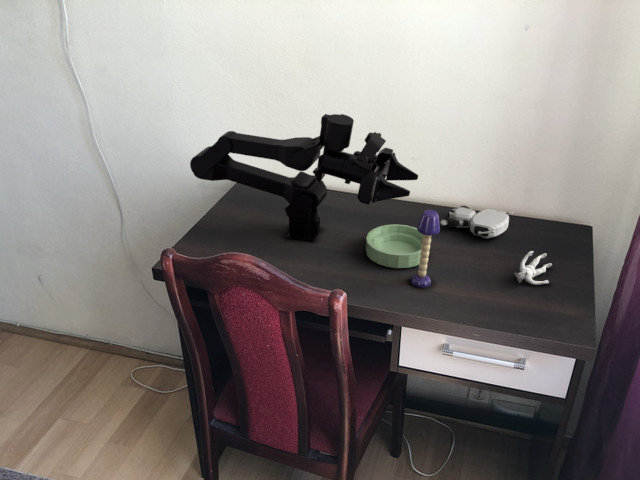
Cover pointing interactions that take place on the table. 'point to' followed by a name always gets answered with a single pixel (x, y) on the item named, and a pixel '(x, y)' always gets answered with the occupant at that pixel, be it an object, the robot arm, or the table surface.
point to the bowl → (394, 246)
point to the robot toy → (478, 221)
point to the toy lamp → (426, 246)
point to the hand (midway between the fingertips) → (413, 185)
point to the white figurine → (532, 270)
